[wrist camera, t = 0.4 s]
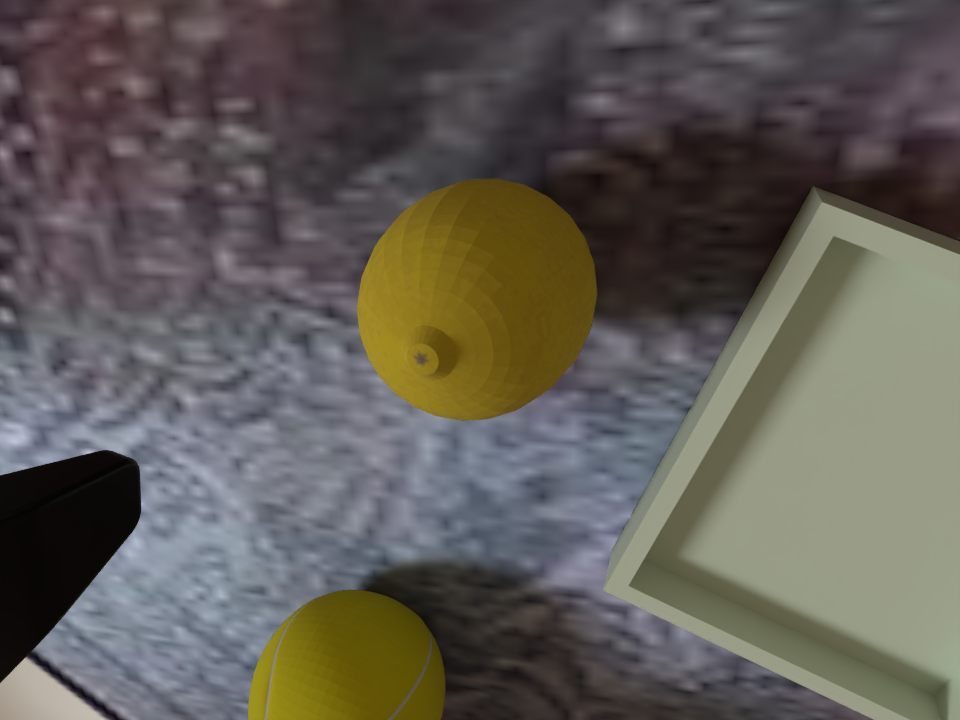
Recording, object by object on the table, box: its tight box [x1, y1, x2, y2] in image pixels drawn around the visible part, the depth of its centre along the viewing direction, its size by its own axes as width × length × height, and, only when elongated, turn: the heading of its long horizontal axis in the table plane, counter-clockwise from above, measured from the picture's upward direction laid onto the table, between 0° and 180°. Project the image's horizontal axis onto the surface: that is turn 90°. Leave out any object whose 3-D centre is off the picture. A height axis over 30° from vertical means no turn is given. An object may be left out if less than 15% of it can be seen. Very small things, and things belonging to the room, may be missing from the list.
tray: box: [603, 186, 960, 720], centre depth 19 cm, size 13×11×2 cm
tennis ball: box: [248, 590, 445, 720], centre depth 26 cm, size 7×7×7 cm
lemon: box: [357, 179, 597, 421], centre depth 17 cm, size 6×6×8 cm
